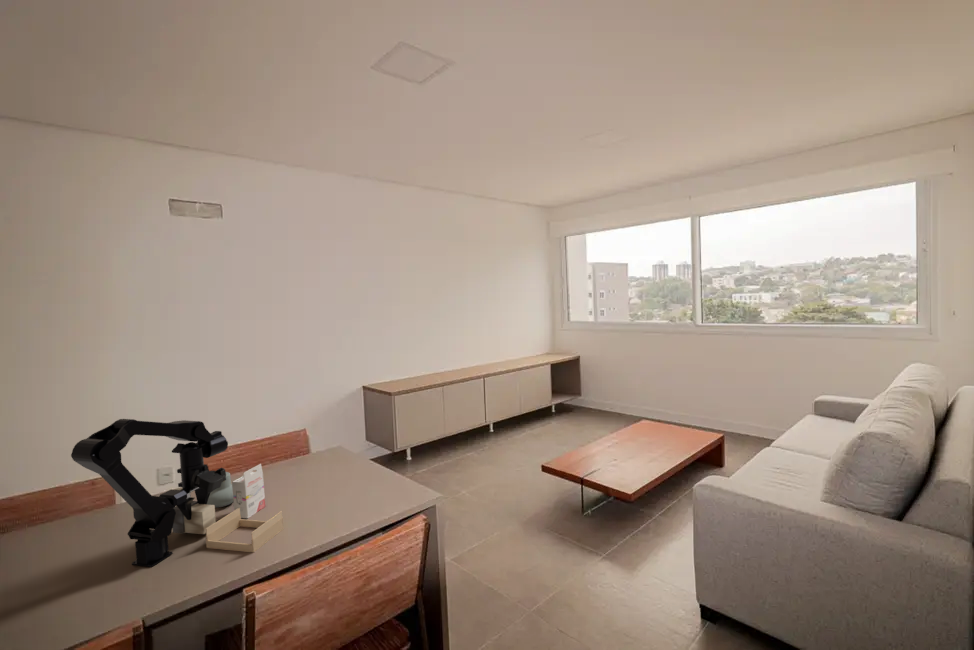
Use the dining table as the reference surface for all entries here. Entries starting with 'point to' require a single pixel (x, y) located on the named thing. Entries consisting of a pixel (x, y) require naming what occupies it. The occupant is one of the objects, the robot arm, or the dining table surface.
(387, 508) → the dining table surface
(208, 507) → the steel ended block
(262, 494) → the ink cartridge box
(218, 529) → the wooden tray frame
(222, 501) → the air freshener
